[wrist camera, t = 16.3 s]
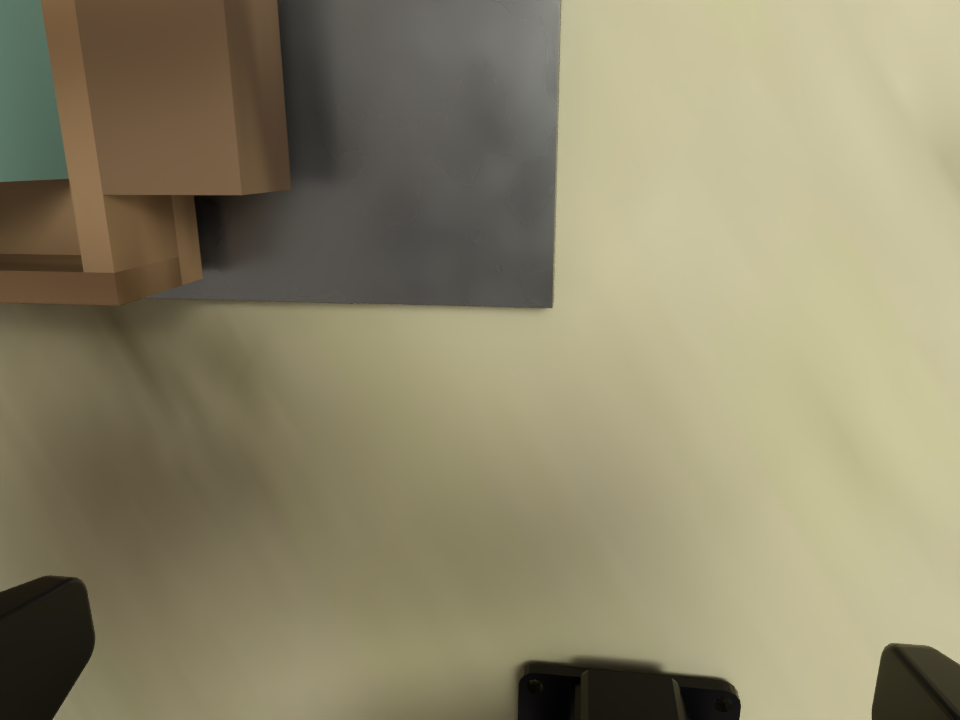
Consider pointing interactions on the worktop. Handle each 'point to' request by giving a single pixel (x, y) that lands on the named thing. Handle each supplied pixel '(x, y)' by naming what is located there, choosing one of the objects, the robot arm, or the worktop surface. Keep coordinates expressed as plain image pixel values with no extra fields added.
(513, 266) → the grey flat slab
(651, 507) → the worktop surface
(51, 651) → the robot arm
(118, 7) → the wooden crate tray
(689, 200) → the worktop surface
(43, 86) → the teal block
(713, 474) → the worktop surface
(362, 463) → the worktop surface
